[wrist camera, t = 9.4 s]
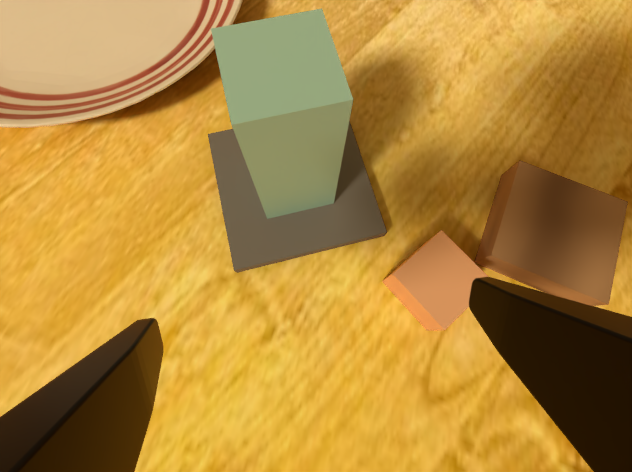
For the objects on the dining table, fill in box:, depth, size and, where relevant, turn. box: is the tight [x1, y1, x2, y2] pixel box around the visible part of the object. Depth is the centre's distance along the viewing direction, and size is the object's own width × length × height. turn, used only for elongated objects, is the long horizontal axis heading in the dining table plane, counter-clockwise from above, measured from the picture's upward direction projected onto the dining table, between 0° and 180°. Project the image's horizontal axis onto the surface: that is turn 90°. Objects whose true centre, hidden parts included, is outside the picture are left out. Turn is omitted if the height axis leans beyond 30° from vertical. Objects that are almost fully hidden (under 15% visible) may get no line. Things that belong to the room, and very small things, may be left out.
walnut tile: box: [475, 161, 628, 306], centre depth 21 cm, size 7×7×2 cm
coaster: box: [208, 121, 387, 272], centre depth 22 cm, size 10×10×1 cm
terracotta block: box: [382, 230, 488, 330], centre depth 20 cm, size 4×4×3 cm
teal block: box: [211, 9, 353, 219], centre depth 17 cm, size 4×4×10 cm
